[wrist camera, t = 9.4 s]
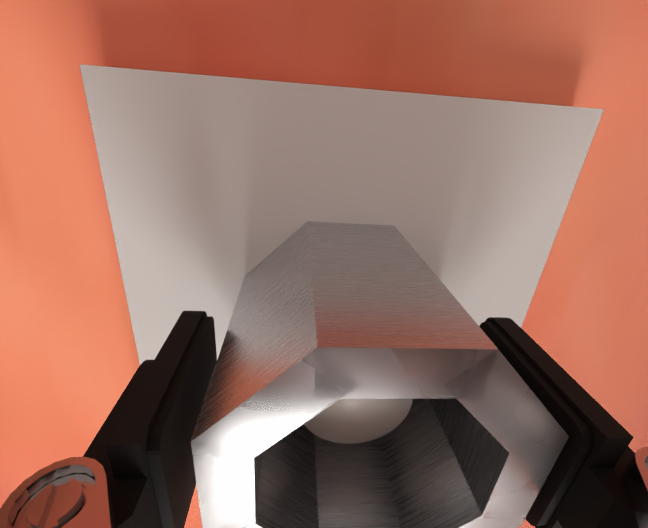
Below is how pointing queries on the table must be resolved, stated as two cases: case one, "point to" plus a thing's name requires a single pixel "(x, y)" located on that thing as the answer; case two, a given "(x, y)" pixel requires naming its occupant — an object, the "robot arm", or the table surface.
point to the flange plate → (324, 193)
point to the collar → (364, 397)
